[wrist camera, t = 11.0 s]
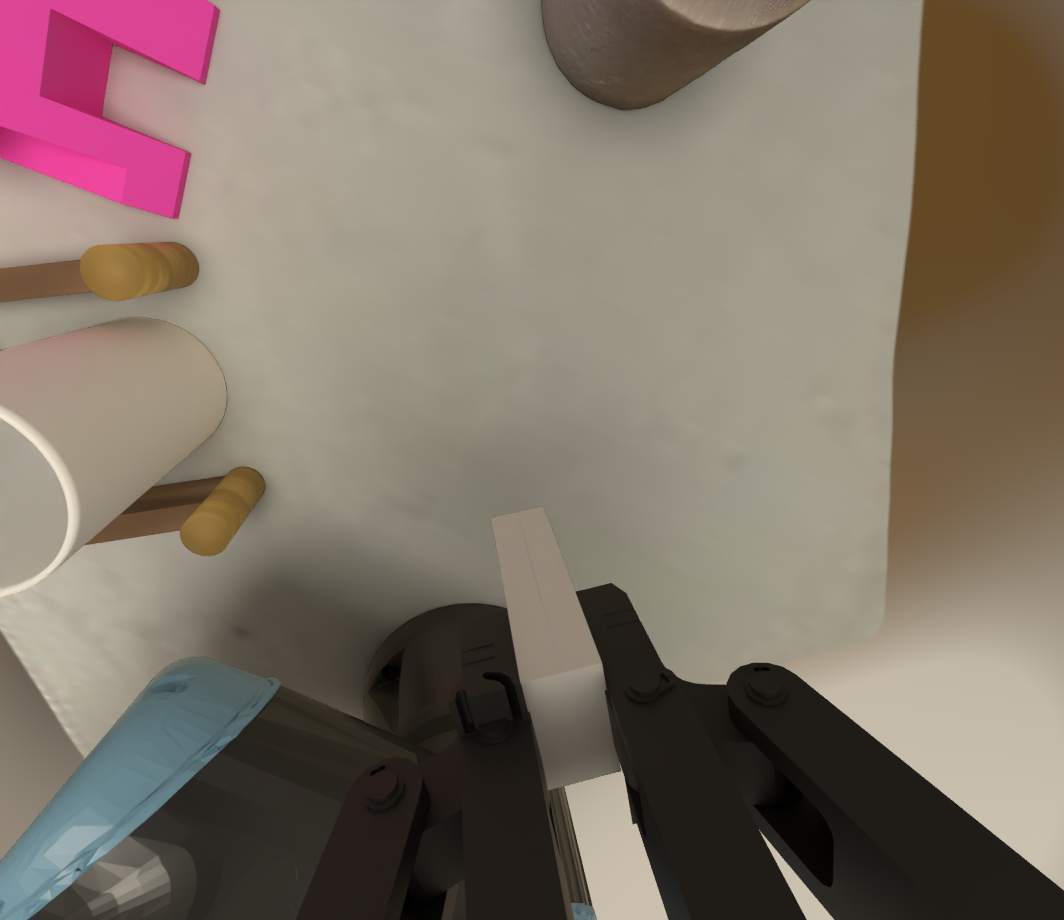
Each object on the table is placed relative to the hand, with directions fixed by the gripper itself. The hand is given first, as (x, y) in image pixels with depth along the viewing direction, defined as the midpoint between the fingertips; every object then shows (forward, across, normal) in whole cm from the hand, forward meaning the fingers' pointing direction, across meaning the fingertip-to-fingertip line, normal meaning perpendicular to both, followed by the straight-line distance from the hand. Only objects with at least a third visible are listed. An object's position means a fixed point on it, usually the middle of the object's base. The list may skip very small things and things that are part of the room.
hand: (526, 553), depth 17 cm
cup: (+23, +19, -4) cm, 30 cm away
